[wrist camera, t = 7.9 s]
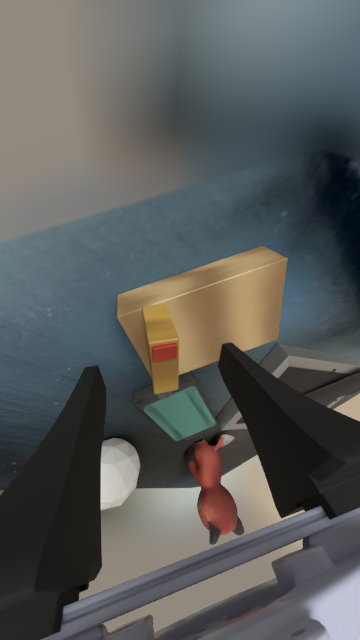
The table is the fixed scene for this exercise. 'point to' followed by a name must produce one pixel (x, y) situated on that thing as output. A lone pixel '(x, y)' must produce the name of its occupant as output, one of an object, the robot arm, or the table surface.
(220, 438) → the stuffed fox
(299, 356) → the picture frame
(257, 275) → the brown flat block
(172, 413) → the smartphone
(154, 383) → the thumb turn
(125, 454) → the ornament
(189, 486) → the table surface
